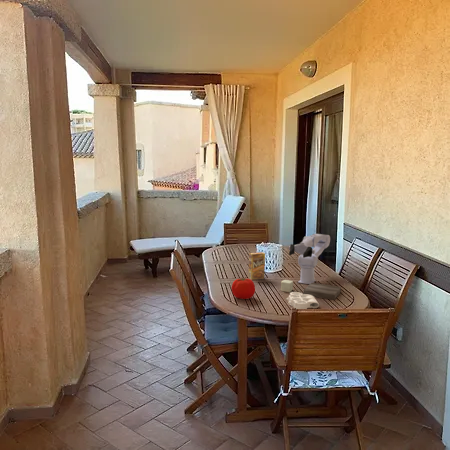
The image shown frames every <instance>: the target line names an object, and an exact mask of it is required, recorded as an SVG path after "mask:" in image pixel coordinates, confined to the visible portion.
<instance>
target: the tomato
mask: <svg viewBox="0 0 450 450" xmlns="http://www.w3.org/2000/svg"><path fill="white" fill-rule="evenodd" d="M231 292H232V295H233V296H234V297H235V298H237V299H240V300H246V299H251V298H252V297H254V295H255V293H256V285H255V282H254V281H253V280H251V279H249V278H247V277H246V276H245V277H242V278H237V279H234V281H233V282H232V284H231Z"/></svg>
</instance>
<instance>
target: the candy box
mask: <svg viewBox="0 0 450 450" xmlns="http://www.w3.org/2000/svg"><path fill="white" fill-rule="evenodd" d="M265 263H266V252H262V251H259V252H249V253H248V276H247V277H248V278H247V279H251V280H252V281H253V280H262V279H263V280H264V279H265V273H266V271H265V270H266V269H265V267H266V266H265V265H266V264H265Z"/></svg>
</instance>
